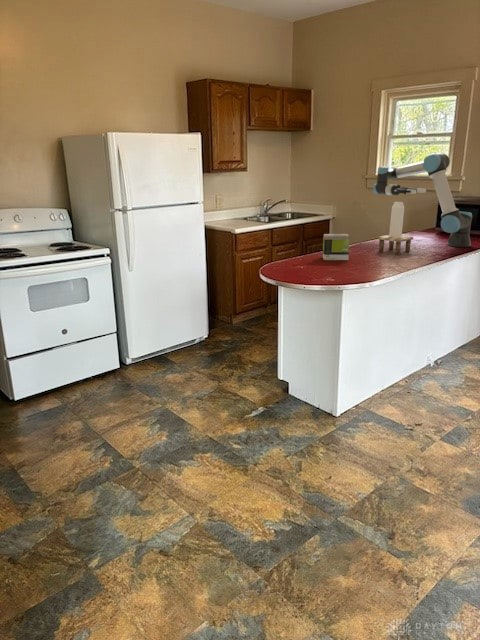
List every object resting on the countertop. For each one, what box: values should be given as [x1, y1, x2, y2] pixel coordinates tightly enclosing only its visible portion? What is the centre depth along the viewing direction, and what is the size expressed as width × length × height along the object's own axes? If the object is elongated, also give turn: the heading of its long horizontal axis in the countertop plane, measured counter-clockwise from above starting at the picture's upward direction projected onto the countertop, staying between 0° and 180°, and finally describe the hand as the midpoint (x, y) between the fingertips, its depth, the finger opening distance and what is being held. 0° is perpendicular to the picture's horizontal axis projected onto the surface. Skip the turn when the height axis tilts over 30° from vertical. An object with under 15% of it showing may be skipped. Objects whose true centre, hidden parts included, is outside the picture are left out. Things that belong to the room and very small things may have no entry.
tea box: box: [322, 233, 351, 261], centre depth 299 cm, size 15×10×15 cm, turn 84°
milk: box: [388, 201, 405, 238], centre depth 314 cm, size 6×6×22 cm
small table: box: [377, 234, 414, 256], centre depth 319 cm, size 16×16×10 cm
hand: (420, 191), depth 340 cm, fingers open, 13 cm apart
